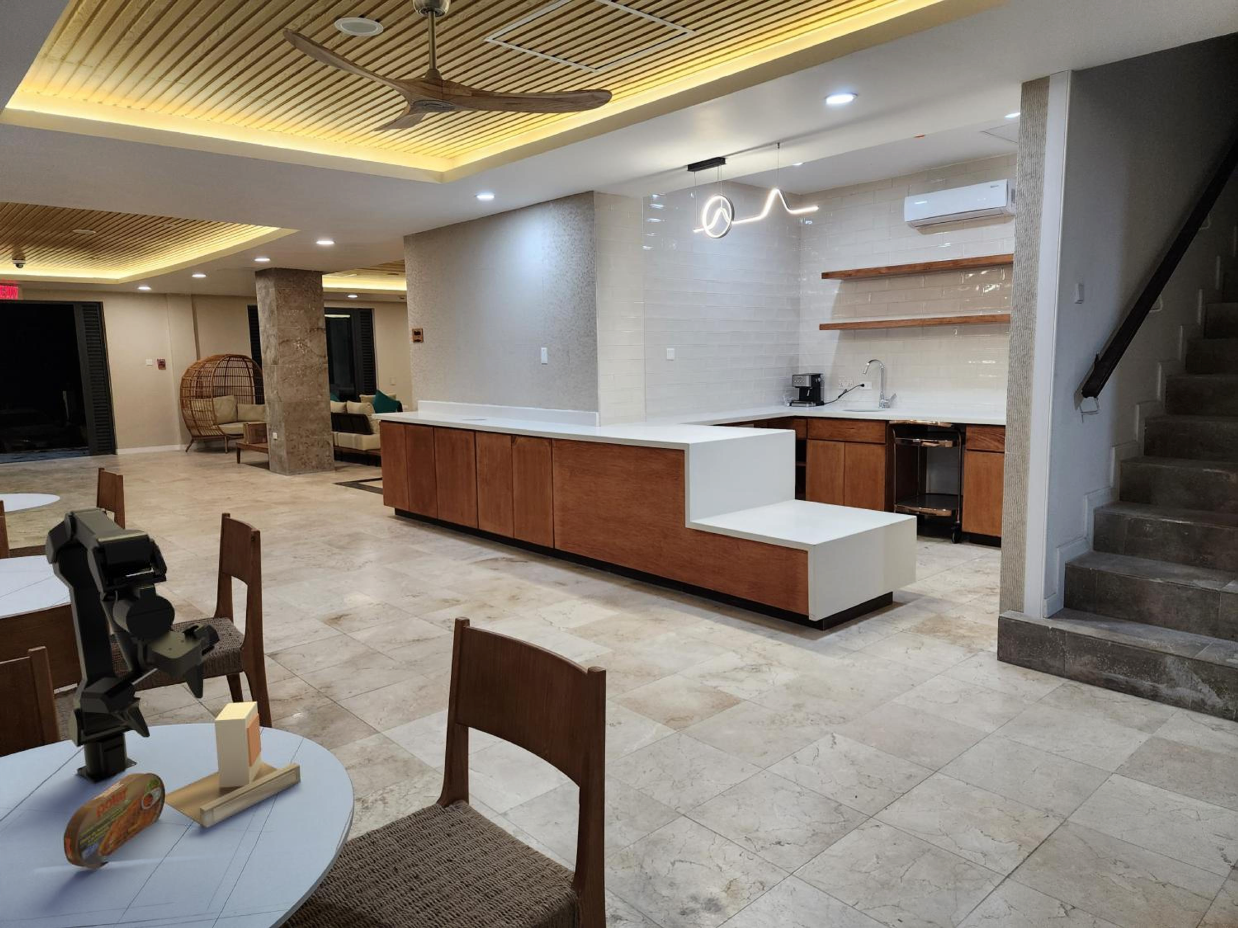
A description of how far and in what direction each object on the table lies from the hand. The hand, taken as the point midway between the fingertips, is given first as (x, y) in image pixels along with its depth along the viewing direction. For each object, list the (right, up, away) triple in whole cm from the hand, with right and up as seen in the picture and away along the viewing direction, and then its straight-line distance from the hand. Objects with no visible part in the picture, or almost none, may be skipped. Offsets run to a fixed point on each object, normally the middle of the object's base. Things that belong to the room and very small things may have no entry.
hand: (174, 716), depth 116 cm
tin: (-4, -16, -6) cm, 18 cm away
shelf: (+4, -14, +8) cm, 16 cm away
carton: (+5, -13, +11) cm, 18 cm away
